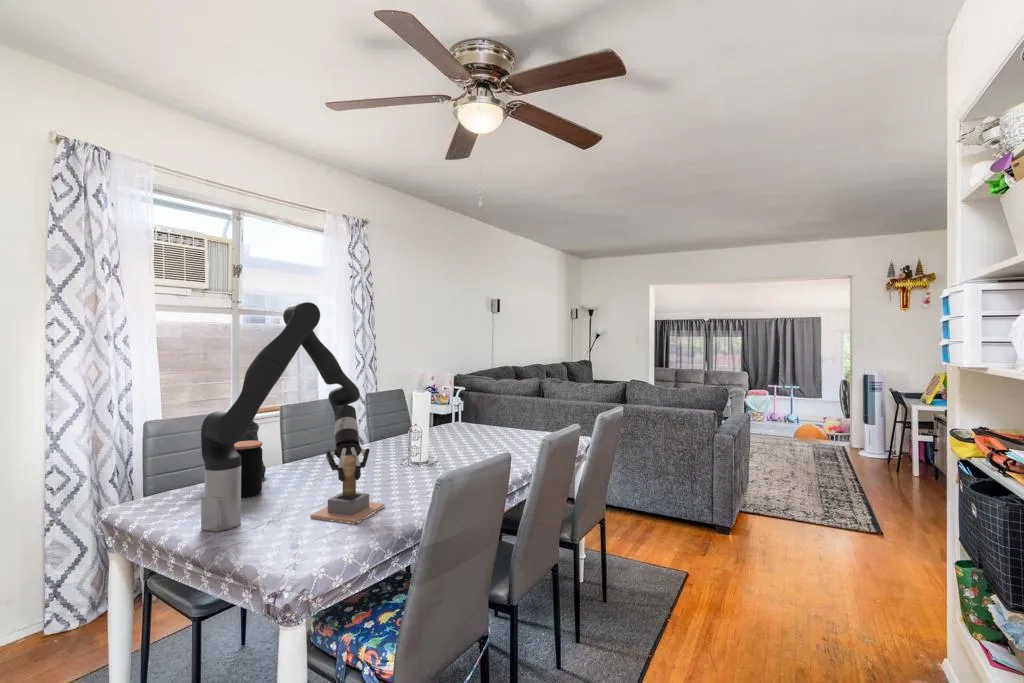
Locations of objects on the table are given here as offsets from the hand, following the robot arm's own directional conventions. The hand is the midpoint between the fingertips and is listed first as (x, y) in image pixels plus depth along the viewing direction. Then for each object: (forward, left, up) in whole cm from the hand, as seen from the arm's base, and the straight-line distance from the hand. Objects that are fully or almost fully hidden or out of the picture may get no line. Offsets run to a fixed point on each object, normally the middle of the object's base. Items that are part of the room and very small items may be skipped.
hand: (349, 479), depth 154 cm
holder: (+1, +1, -11) cm, 11 cm away
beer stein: (+18, +62, -11) cm, 66 cm away
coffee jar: (+5, +46, -11) cm, 48 cm away
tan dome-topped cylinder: (+1, +1, -5) cm, 5 cm away
